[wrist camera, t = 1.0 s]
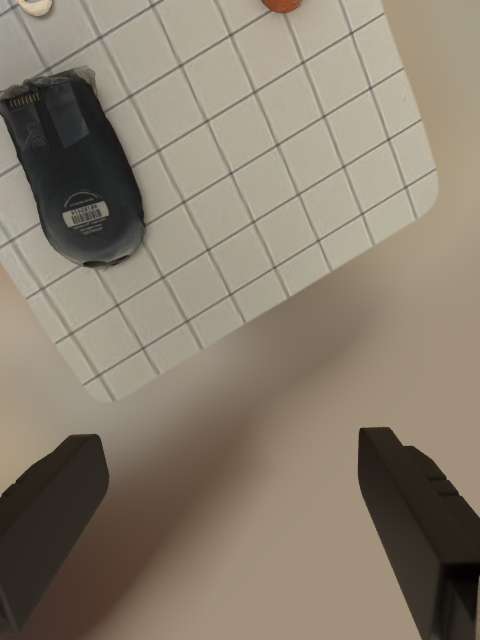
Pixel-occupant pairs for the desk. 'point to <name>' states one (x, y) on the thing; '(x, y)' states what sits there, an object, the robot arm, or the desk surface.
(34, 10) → the fidget spinner
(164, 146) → the desk surface
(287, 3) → the pen holder
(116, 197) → the electronic device
